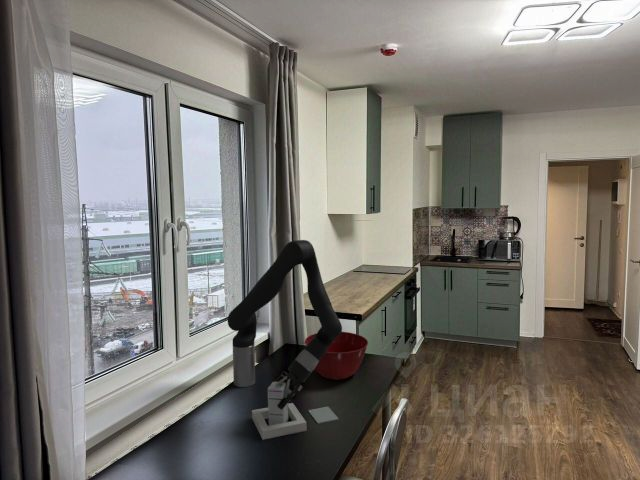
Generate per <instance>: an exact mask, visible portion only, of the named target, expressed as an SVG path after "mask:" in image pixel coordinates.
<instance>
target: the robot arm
mask: <svg viewBox="0 0 640 480" xmlns="http://www.w3.org/2000/svg"><path fill="white" fill-rule="evenodd" d="M299 265H301V266H302V267H303V269H304V272H305V275H306V281H307V295H308V300H309V302H310V304H311V307H312V309H313V311H314V313H315V316H317V319H318V320H319V323H320V325H321V326H320V328H319V330H317V334H316V333H315V334H316V335H315V337H314V338H313V339H312V340H311V341H310V342H309V343H308V345H307V346H306V345H305V347H304V349H303V350H301V352H299V354H298V355H297V357H296V358H294V360H293V361H292V363H291V364H290V365H289V366H288V368H287V371H289V372H286V370H283V371H281V372H280V374H279V376H278V377H277V378H276V379H274V382H285V383H286V389H285V391H286V393H285V396H284V397H285V398H284V397H283V399H282V400H281V401H280V402H279V404H278V405H277V407H278V408H280V409H281V410H282V409H283V408H284V407H285V406H286V404H287V403H288V404H289V403H290V402H291V403H294V402H295V401H296V400H297V398H298V397H299V395H301V393H302V392H303V390H304V387H303V385H302V384H301V383H305V382H306V380H307V379H308V378H309V377H310V375H311V374H312V373H313V372H314V370H315V367H316V366H317V364H318V362H319V361H320V360H321V358H322V357H323V356H324V354H325V353H326V351H327V349H328V347H329V346H330V345H331V344H332V342H333V341H334V340H335V339H336V338H337V337H338V336H340V334H341V332H343V326H342V323H341V320H340V319H339V317H338V315H337V313H336V311H335V310H334V308H333V305H332V302H331V300H330V298H329V295H328V293H327V290H326V288H325V285H324V282H323V279H322V275H321V270H320V267H319V262H318V259H317V255H316V251H315V248H314V246H313V244H312V243H311V242H310V241H309V240H306V239H300V240H299V239H296V240H291V241H289V242H288V243H287V244H285V246H284V247H283V248H282V250H281V252H280V253H279V255H278V256H277V257H276V259H275V261H274V262H273V263H272V264H271V266H270V267H269V268H268V269H267V271H266V272H265V273H264V274H262V276H261V277H260V278H259V280H258V281H257V282H256V283H255V284H254V286H253V287H252V288H251V290H249V292H248V293H247V295H246V296H245V297H244V299H242V300H241V302H240V303H238V304H237V306H235V307H234V308H233V309H232V310H230V312H229V314H228V316H227V325H228V328H230V329H231V330H232V331H235V332H236V334H235V335H234V336H233V338H232V369H233V370H232V372H233V373H232V374H233V377H232V378H233V385H234V386H235V387H238V388H246V387H247V388H249V387H251V386H253V385H255V384H256V361H255V360H256V357H255V356H256V355H255V353H256V352H255V347H256V346H255V340H256V338H257V313H256V312H258V311H259V310H261V309H262V308H264V307H265V306H266V305H267V304H269V303H270V302H272V300H273V299H274V298H275V297H276V296H278V294H279V293H280V292H281V290H282V288H283V287H284V283H285V279H286V276H287V275H288V274H289V273H290V272H291V270H292V269H294V268H295V267H297V266H299Z"/></svg>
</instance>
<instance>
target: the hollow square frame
mask: <svg viewBox="0 0 640 480" xmlns="http://www.w3.org/2000/svg"><path fill="white" fill-rule="evenodd" d="M288 416H289V419H290V420H291V421H288V422H286V423H281V424H276V425H271V426H269V425H268V424H267V422H266V420H267V419H268V420H269V414H268V406H267V407H264V408H258V409H253V410H251V419H252V421H253V423H254V424H255V427H256V429H257V431H258V433H259V435H260V437H261V439H262V441H264V440H269V439H273V438H279V437H281V436H283V437H284V436H286V435H291V434H297V433H302V432H307V430H308V429H307V428H308V427H307V424H308V423H307V421H306V420H305V418H304V417H303V415H302V414H301V413H300V411H299V409H298V408H297V407H296V405H295V404H294V402H291V403H290V402H288Z"/></svg>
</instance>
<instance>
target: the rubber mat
mask: <svg viewBox="0 0 640 480" xmlns="http://www.w3.org/2000/svg"><path fill="white" fill-rule="evenodd" d="M307 411H308V413H309V414H310V415H311V417H312V418H313V419H314V421H315V422H316V424H317V425H319V424H324V423H329V422H333V421H339V420H340V419H339V417H338V416H337V415H336V414H335V412H333V410H332V409H331V408H330V407H329V406H324V407H319V408H313V409H308V410H307Z"/></svg>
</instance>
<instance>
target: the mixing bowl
mask: <svg viewBox="0 0 640 480" xmlns="http://www.w3.org/2000/svg"><path fill="white" fill-rule="evenodd" d="M316 334H317V333H313V334H311V335H309V336H307V337H305V340H304V344H305V347H306V346H307V345H308V343H309V342H310V341H311V340H312V339H313V338H314V337H315V335H316ZM368 346H369V341H368V339H367V338H366V337H364V336H362V335H360V334H358V333H353V332H349V331H342V332H341V334H340V336H338V337H337V338H336V339H335V340H334V341H333V342H332V344H331V345H330V346H329V347H328V349H327V351H326V353H325V354H324V356H323V357H322V358H321V360H320V361H319V362H318V364H317V366H316V367H315V369H314V370H315V371H316V372H317V373H318V375H321V376H322V377H323V378H326V379H328V380H334V381H336V380H341V381H342V380H344V379H347V378H349V377H351V376H353V375H354V374H356V372H357V371H358V370H359V367H360V366H361V364H362V362H363V359H364V357H365V354H366V351H367V347H368Z"/></svg>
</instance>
